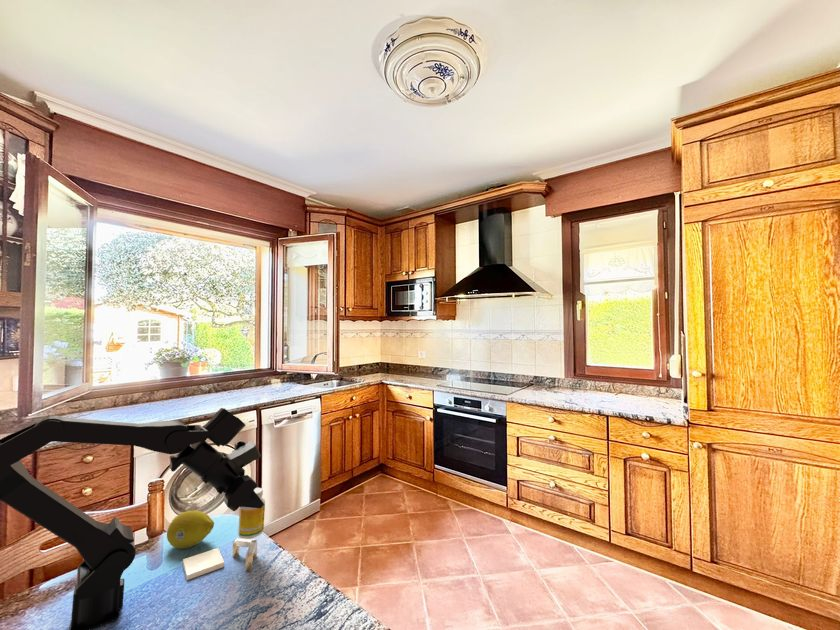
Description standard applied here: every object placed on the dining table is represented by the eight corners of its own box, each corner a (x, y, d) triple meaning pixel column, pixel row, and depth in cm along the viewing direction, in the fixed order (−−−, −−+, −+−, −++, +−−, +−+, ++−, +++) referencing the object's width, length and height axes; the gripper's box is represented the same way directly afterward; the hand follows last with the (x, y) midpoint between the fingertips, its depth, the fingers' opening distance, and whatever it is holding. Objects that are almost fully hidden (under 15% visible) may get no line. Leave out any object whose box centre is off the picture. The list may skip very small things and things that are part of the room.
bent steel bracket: (241, 574, 75) (241, 556, 75) (231, 554, 82) (232, 538, 82) (262, 565, 78) (263, 549, 78) (251, 547, 85) (252, 532, 85)
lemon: (155, 552, 82) (158, 517, 83) (183, 535, 90) (185, 503, 91) (194, 558, 80) (196, 522, 81) (219, 539, 88) (221, 507, 89)
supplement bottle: (235, 532, 81) (238, 489, 82) (260, 525, 85) (262, 484, 85) (241, 542, 77) (243, 497, 78) (266, 534, 80) (268, 491, 81)
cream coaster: (186, 580, 73) (186, 575, 73) (182, 564, 78) (183, 559, 78) (224, 566, 77) (224, 562, 77) (217, 552, 83) (218, 547, 83)
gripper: (249, 441, 73) (298, 483, 79) (229, 425, 88) (272, 461, 94) (203, 490, 68) (260, 530, 74) (190, 464, 82) (239, 500, 88)
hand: (259, 501), depth 82 cm, fingers closed on supplement bottle, 5 cm apart
